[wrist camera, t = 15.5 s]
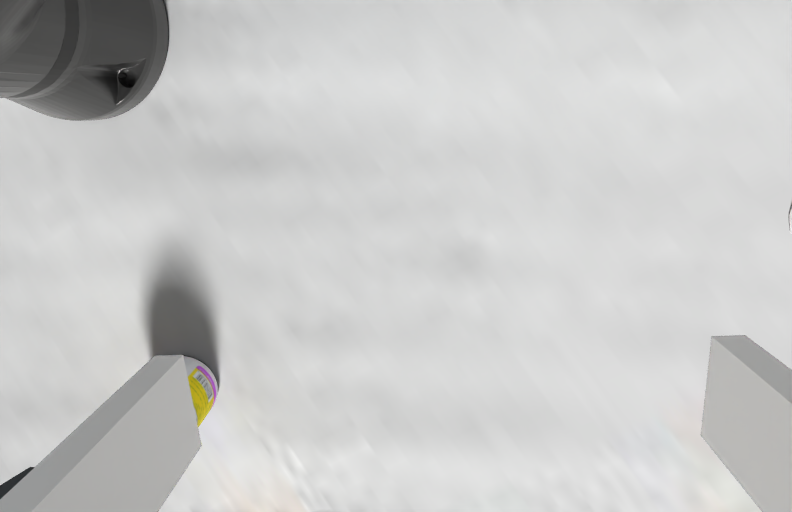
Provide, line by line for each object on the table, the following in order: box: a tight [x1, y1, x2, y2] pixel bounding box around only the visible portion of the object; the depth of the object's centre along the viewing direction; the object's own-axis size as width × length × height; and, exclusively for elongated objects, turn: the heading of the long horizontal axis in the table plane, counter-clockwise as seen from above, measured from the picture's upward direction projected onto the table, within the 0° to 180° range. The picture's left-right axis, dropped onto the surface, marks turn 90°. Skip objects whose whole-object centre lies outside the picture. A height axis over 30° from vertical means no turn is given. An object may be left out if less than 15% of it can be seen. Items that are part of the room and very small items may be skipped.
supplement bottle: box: [184, 356, 218, 427], centre depth 45 cm, size 7×7×13 cm
